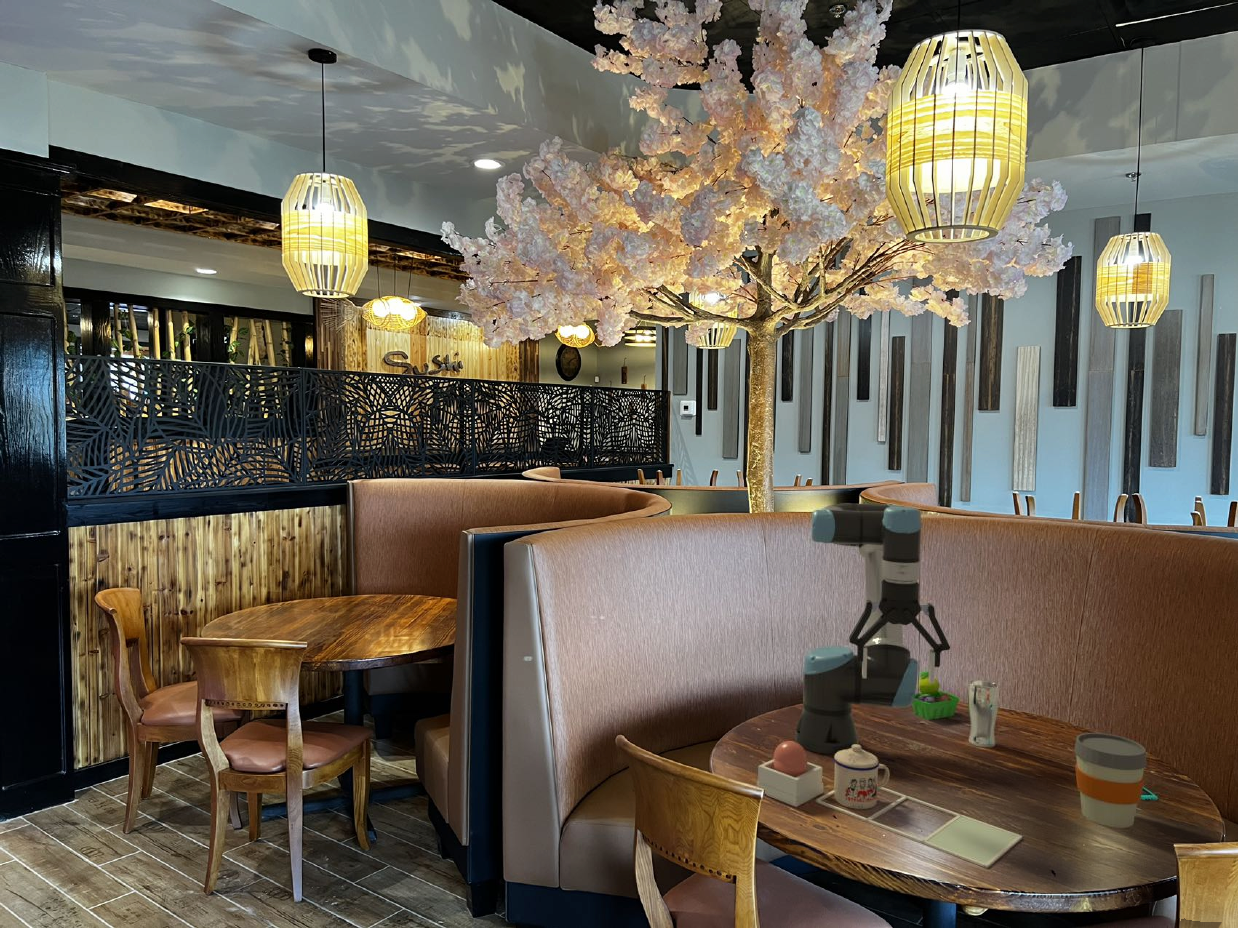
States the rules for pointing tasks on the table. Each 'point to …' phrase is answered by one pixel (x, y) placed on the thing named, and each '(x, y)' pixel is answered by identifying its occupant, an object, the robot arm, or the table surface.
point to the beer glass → (982, 712)
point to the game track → (952, 833)
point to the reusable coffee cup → (1109, 777)
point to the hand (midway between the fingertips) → (897, 679)
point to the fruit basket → (933, 700)
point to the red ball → (790, 759)
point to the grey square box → (790, 784)
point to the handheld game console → (1147, 795)
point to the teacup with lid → (857, 778)
